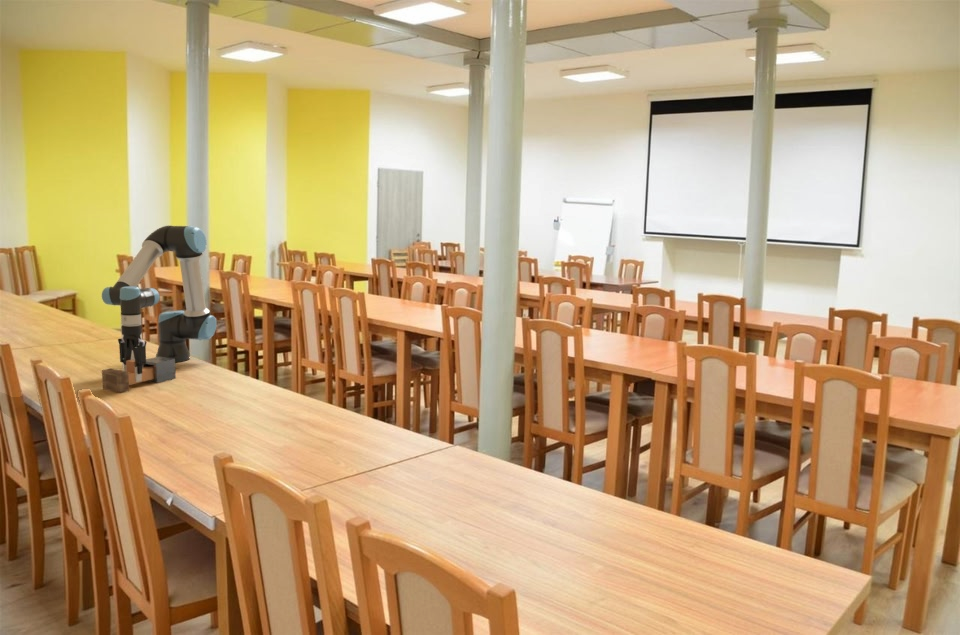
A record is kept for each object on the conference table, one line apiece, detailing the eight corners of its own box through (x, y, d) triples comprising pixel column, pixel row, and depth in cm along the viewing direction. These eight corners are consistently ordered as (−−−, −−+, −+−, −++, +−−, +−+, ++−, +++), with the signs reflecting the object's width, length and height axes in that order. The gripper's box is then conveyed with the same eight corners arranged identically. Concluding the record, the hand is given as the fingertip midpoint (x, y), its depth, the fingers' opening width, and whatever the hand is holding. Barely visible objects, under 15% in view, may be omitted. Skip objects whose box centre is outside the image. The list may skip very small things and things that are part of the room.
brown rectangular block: (111, 387, 306) (110, 368, 305) (129, 390, 302) (128, 371, 301) (102, 389, 302) (101, 370, 301) (120, 393, 298) (119, 373, 297)
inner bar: (154, 375, 322) (153, 354, 321) (162, 376, 320) (161, 356, 319) (114, 385, 304) (113, 363, 303) (122, 386, 302) (121, 364, 301)
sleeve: (160, 375, 328) (159, 356, 327) (175, 378, 324) (174, 358, 323) (141, 380, 319) (140, 360, 318) (157, 383, 315) (156, 363, 314)
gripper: (108, 323, 306) (110, 379, 310) (139, 328, 299) (142, 385, 303) (123, 321, 313) (126, 376, 317) (154, 325, 306) (157, 381, 310)
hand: (133, 380), depth 310 cm, fingers closed on inner bar, 4 cm apart
